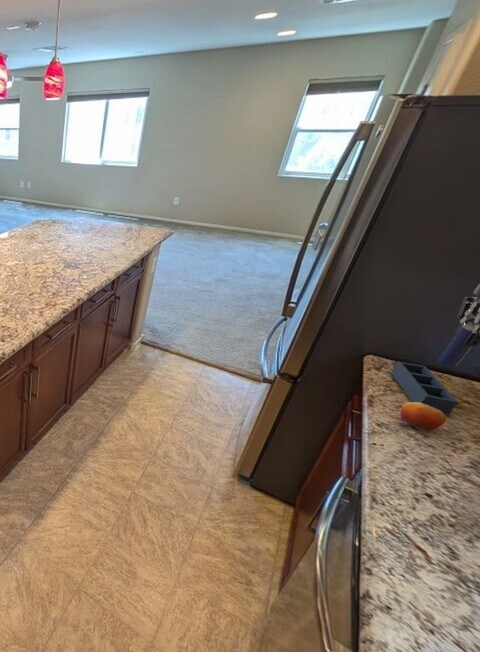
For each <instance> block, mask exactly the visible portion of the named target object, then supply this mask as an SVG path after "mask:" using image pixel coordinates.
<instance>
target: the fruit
mask: <svg viewBox="0 0 480 652" xmlns="http://www.w3.org/2000/svg"><path fill="white" fill-rule="evenodd" d="M399 413H400V415H399V416H400V420H401V421H402V423H403V425H404V426H410V427H413V428H416V429H418V430H419V431H421V432H422V433H423V434H425V432H430V431H433V430H436V429H438V428H440V427H441V426H443V425H444V424H445V423H446V422H447V416H446V414H445V413H443V412H442V411H440V410H438V409H436V408H433V407H430V406H429V405H426V404H423V403H419V402H413V401H411V402H410V401H409V402H405V403H404V404H403V405H402V406H401V409H400V412H399Z"/></svg>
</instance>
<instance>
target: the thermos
mask: <svg viewBox="0 0 480 652" xmlns="http://www.w3.org/2000/svg"><path fill="white" fill-rule="evenodd" d="M474 326H475V324H474V322H464V324H463V325H462V327H461V329H460V330H459V331H458V333H457V334H456V335H455V336H454V337H453V338H452V339H451V341H450V342H449V343H448V345H447V346H446V348H445V349H444V350H443V352H442V353H441V354H440V356H439V357H438V358H437V361H438V362H439V363H440V364H442V365H444V366H448V367H457V366H458V365H459V364H460V362H462V360H463V359H464V357H465V356H466V355H467V354H468V352H469V351H470V350H471V348H473V346H466V345H465V344H463V342H464V341H465V340H466V338H467V337H468V336H469V334H470V333H471V332H472V330H473V328H474Z"/></svg>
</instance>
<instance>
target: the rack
mask: <svg viewBox="0 0 480 652" xmlns="http://www.w3.org/2000/svg"><path fill="white" fill-rule="evenodd" d="M390 373H391V375H392V376H393V377H394V379H395V380H396V381H397V383H398V384H399V385H400V387H401V388H402V390H403V391H404V392H405V393H406V394H407V396H408V397H409V399H410V400H411V402H419V403H423V404H426V405H429V406H430V407H433V408H436V409H438V410H440V411H442V412H443V414H445V415H449V414H450V413H451V412H452V411H453V409H454V408H455V407H456V406H457V405H458V404H459V402H458V400H457V399H456V397H454V396H453V395H452V394H451V393H450V391H449V390H448V389H447V388H446V387H445V386H444V385H443V384H442V383H441V381H440V380H439V379H438V378H437V377H436V376H435V375H434V374H433V373H432V372H431V371H430V370H429V368H428V367H427V366H426V365H421V364H416V363H409V362H404V361H397V362H396V364H395V365H394V367H393V368H392V369H391V371H390Z"/></svg>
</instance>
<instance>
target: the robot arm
mask: <svg viewBox="0 0 480 652" xmlns="http://www.w3.org/2000/svg"><path fill="white" fill-rule="evenodd" d="M456 317H457V319H460V320H459V323H460V324H459V326H458V327H457V329H456V330H455V331H454V333H453V336H454V337H455V335H456V334H457V333H458V331H459V330H460V329H461V327H462V325H463V324H464V322H474V324H475V326H474V328H473V330H472V332H471V333H470V334H469V336H468V337H467V338H466V340H465V341H464V342H463V344H465V345H466V346H472V348H473V347H477V346H479V344H480V283H478V285H477V286H476V288H475V289H474V290H473V296H465V297H464V298H463V301H462V303H461V306H460V308H459V310H458V313H457V315H456Z"/></svg>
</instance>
